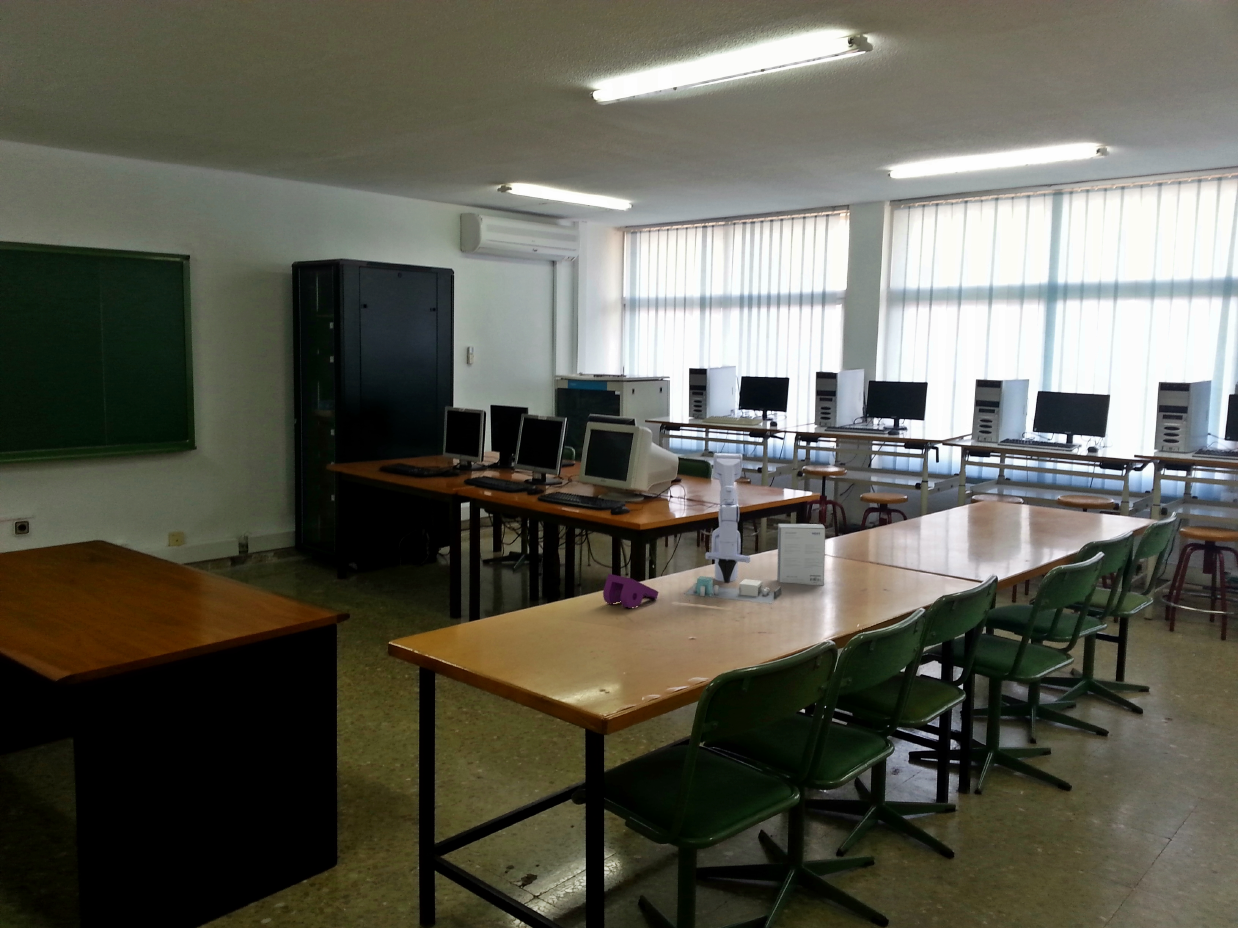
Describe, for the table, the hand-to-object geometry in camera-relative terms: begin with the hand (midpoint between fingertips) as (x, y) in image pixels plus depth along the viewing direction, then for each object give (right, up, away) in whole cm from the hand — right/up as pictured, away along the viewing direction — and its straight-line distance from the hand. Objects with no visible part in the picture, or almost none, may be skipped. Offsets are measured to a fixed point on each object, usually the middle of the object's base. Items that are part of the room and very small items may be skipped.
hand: (726, 582), depth 305 cm
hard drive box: (+27, -2, +16) cm, 31 cm away
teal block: (-8, -3, -4) cm, 9 cm away
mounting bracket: (-31, -5, -13) cm, 34 cm away
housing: (+7, -3, -3) cm, 8 cm away
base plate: (+1, -4, -4) cm, 6 cm away
